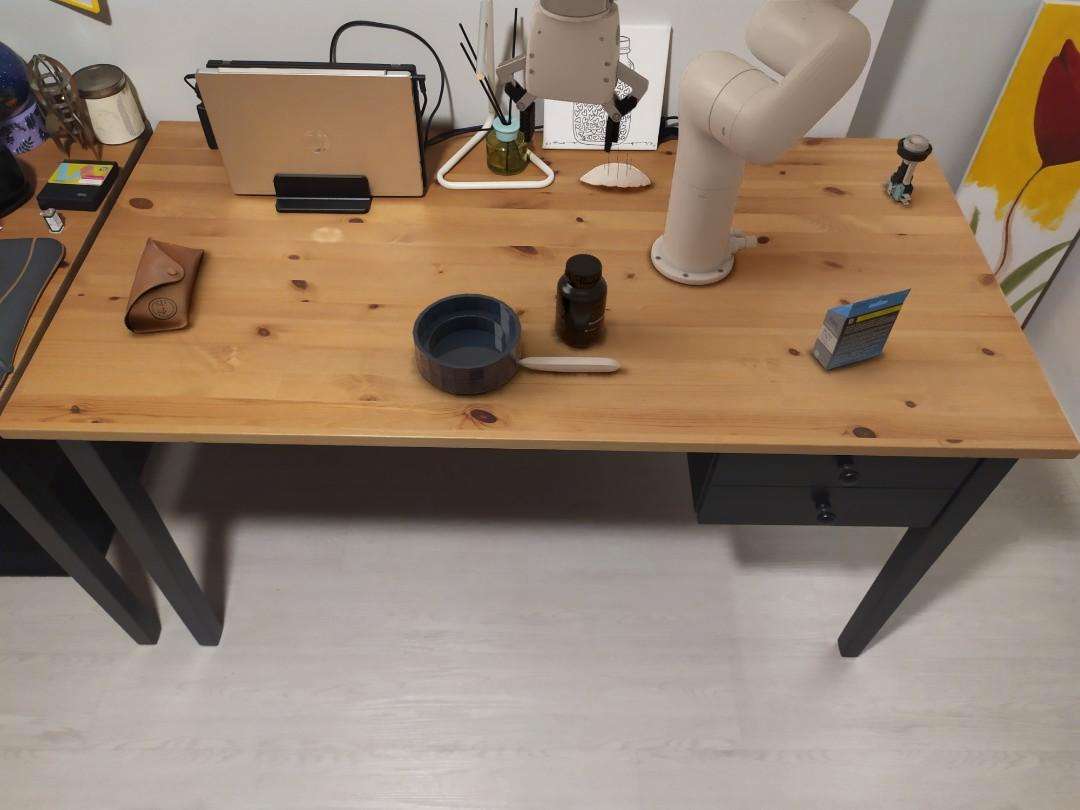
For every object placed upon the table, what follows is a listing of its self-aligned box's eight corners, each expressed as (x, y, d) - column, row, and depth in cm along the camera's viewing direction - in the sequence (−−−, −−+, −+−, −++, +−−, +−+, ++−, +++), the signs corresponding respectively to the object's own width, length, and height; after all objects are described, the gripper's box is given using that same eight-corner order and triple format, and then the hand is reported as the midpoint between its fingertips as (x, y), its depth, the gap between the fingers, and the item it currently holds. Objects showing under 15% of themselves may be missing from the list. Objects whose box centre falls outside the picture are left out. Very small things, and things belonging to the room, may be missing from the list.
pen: (516, 364, 110) (516, 355, 109) (619, 365, 110) (621, 356, 109) (516, 372, 109) (516, 363, 108) (620, 373, 109) (621, 364, 108)
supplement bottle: (599, 352, 112) (605, 285, 103) (550, 344, 113) (552, 277, 104) (606, 318, 116) (613, 252, 107) (559, 312, 117) (562, 245, 108)
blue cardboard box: (864, 337, 114) (894, 269, 105) (881, 356, 112) (913, 287, 102) (810, 352, 112) (835, 284, 103) (826, 372, 110) (853, 303, 100)
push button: (920, 206, 135) (943, 153, 127) (889, 207, 135) (911, 154, 127) (905, 183, 139) (927, 130, 132) (875, 185, 139) (895, 131, 131)
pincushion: (579, 192, 136) (581, 163, 132) (580, 172, 140) (581, 143, 136) (650, 195, 136) (654, 166, 132) (649, 175, 140) (653, 145, 136)
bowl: (510, 316, 116) (509, 287, 112) (531, 388, 107) (531, 359, 103) (411, 330, 114) (407, 301, 110) (424, 404, 105) (419, 375, 101)
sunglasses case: (191, 326, 113) (151, 297, 109) (155, 348, 116) (114, 321, 111) (206, 246, 125) (170, 217, 120) (173, 268, 127) (137, 240, 123)
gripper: (662, -14, 85) (644, 134, 98) (502, -29, 87) (505, 117, 100) (654, 16, 81) (636, 167, 93) (485, -1, 83) (491, 149, 96)
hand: (568, 141), depth 97 cm, fingers open, 9 cm apart
